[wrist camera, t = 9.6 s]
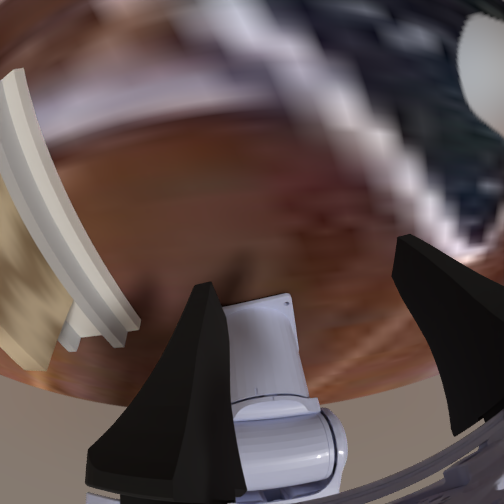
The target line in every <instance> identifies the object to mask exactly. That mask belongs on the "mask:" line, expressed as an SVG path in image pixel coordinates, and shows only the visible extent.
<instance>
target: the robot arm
mask: <svg viewBox="0 0 504 504" xmlns="http://www.w3.org/2000/svg"><path fill="white" fill-rule="evenodd" d="M392 278H393V280H394V283H395V285H396V287H397V289H398V291H399V293H400V296H401V298H402V299H403V301H404V303H405V304H406V306H407V308H408V309H409V311H410V313H411V314H412V316H413V318H414V319H415V321H416V323H417V324H418V326H419V328H420V330H421V331H422V333H423V335H424V337H425V338H426V340H427V342H428V344H429V346H430V349H431V351H432V354H433V356H434V359H435V362H436V364H437V367H438V370H439V373H440V377H441V380H442V383H443V387H444V391H445V395H446V399H447V404H448V410H449V416H450V423H451V430H452V433H453V435H454V436H457V435H458V434H460V433H461V432H463V431H465V430H466V429H467V428H469V427H471V426H472V425H474V424H475V423H476V422H478V421H480V420H481V419H482V418H484V421H485V423H484V424H483V425H482V426H480V427H479V428H477V429H476V430H475V431H473V432H471V433H470V434H468V435H467V436H465V437H464V438H462V439H461V440H459V441H457V442H456V443H454V444H453V445H451V446H449V447H447V448H446V449H444V450H442V451H440V452H439V453H437V454H435V455H433V456H431V457H429V458H427V459H425V460H424V461H422V462H419V463H417V464H415V465H413V466H411V467H409V468H407V469H404V470H402V471H400V472H398V473H395V474H393V475H390V476H388V477H385V478H383V479H380V480H378V481H375V482H372V483H369V484H367V485H363V486H361V487H357V488H354V489H351V490H348V491H344V492H341V493H339V487H340V482H341V476H342V471H343V468H344V466H345V464H346V460H347V454H348V452H347V451H348V449H347V439H346V434H345V431H344V428H343V426H342V424H341V422H340V420H339V418H338V417H337V416H336V415H335V414H333V412H332V411H330V410H329V409H328V408H320V405H319V401H318V398H310V397H309V392H308V388H307V384H306V380H305V376H304V372H303V368H302V364H301V361H300V357H299V353H298V351H299V347H298V340H297V333H296V326H295V319H294V312H293V305H292V299H291V296H290V294H288V293H284V294H280V295H276V296H271V297H267V298H262V299H258V300H253V301H249V302H244V303H239V304H235V305H230V306H225V307H222V306H221V304H220V301H219V299H218V297H217V294H216V292H215V289H214V287H213V285H212V282H206V283H202V284H197V285H195V286H194V288H193V290H192V292H191V295H190V297H189V299H188V302H187V304H186V306H185V309H184V311H183V313H182V316H181V318H180V320H179V322H178V324H177V326H176V329H175V331H174V333H173V335H172V337H171V339H170V341H169V343H168V345H167V347H166V349H165V350H164V352H163V354H162V356H161V358H160V360H159V361H158V363H157V365H156V367H155V368H154V370H153V372H152V373H151V375H150V376H149V378H148V380H147V381H146V383H145V384H144V385H143V387H142V388H141V390H140V391H139V393H138V394H137V396H136V397H135V398H134V400H133V401H132V402H131V404H130V405H129V406H128V407H127V408H126V410H125V411H124V412H123V413H122V414H121V416H120V417H119V418H118V419H117V420H116V422H115V423H114V424H113V425H112V426H111V427H110V428H109V429H108V430H107V431H106V432H105V433H104V434H103V436H101V437H100V438H99V439H98V440H97V441H96V442H95V443H94V444H93V445H92V446H91V447H90V448H89V449H88V454H87V464H86V477H85V484H86V485H87V486H89V487H93V488H96V489H100V490H104V491H108V492H112V493H117V494H120V499H114V498H110V497H106V496H102V495H98V494H94V493H90V492H87V493H86V504H365V503H367V502H370V501H373V500H376V499H379V498H381V497H384V496H387V495H389V494H392V493H394V492H396V491H399V490H401V489H403V488H405V487H408V486H410V485H412V484H414V483H416V482H418V481H420V480H422V479H424V478H426V477H428V476H430V475H432V474H434V473H436V472H438V471H439V470H441V469H443V468H445V467H446V466H448V465H450V464H452V463H453V462H455V461H456V460H458V459H460V458H461V457H463V456H464V455H466V454H467V453H469V452H470V451H472V450H473V449H475V448H476V447H478V446H479V449H478V451H476V452H474V453H472V454H470V455H469V456H467V457H465V458H463V459H462V460H460V461H458V462H456V463H455V464H453V465H452V466H451V467H449V468H448V469H447V470H445V471H444V473H443V474H444V478H443V479H441V480H439V481H437V482H435V483H433V484H431V485H429V486H427V487H425V488H422V489H420V490H418V491H416V492H414V493H412V494H409V495H406V496H404V497H402V498H399V499H396V500H394V501H392V502H389V503H386V504H504V286H502V285H500V284H498V283H496V282H494V281H492V280H490V279H488V278H486V277H484V276H482V275H480V274H479V273H477V272H475V271H473V270H472V269H470V268H468V267H466V266H465V265H463V264H461V263H459V262H458V261H456V260H454V259H453V258H451V257H450V256H448V255H446V254H445V253H443V252H441V251H440V250H438V249H436V248H435V247H433V246H431V245H430V244H428V243H426V242H424V241H423V240H421V239H419V238H417V237H415V236H413V235H411V234H407V235H403V236H400V237H397V245H396V252H395V258H394V265H393V271H392ZM285 302H287V303H285Z"/></svg>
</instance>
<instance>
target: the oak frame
mask: <svg viewBox="0 0 504 504" xmlns="http://www.w3.org/2000/svg"><path fill="white" fill-rule="evenodd" d="M72 303H73V298H72V297H71V296H70V294H69V293H68V292H67V290H66V289H65V288H64V286H63V285H62V283H61V282H60V281H59V279H58V278H57V276H56V275H55V273H54V272H53V270H52V269H51V267H50V266H49V264H48V263H47V261H46V260H45V258H44V256H43V255H42V253H41V252H40V250H39V248H38V247H37V245H36V243H35V242H34V240H33V238H32V236H31V235H30V233H29V231H28V229H27V228H26V226H25V224H24V222H23V220H22V218H21V216H20V214H19V213H18V211H17V209H16V207H15V205H14V202H13V200H12V198H11V196H10V194H9V192H8V190H7V187H6V185H5V183H4V181H3V178H2V176H1V173H0V347H1V348H2V349H3V350H4V351H5V352H6V353H7V354H8V355H9V356H10V357H11V358H12V359H13V360H14V361H15V362H16V363H17V364H18V365H20V366H21V367H22V368H23V369H24V370H31V371H47V368H48V365H49V362H50V359H51V356H52V353H53V350H54V348H55V345H56V342H57V339H58V337H59V334H60V332H61V329H62V326H63V324H64V321H65V319H66V317H67V314H68V312H69V309H70V307H71V305H72Z"/></svg>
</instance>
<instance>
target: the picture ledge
mask: <svg viewBox="0 0 504 504" xmlns="http://www.w3.org/2000/svg"><path fill="white" fill-rule="evenodd" d="M0 173H1V176H2V178H3V181H4V183H5V185H6V187H7V190H8V192H9V194H10V196H11V198H12V200H13V202H14V205H15V207H16V209H17V211H18V213H19V214H20V216H21V218H22V220H23V222H24V224H25V226H26V228H27V229H28V231H29V233H30V235H31V236H32V238H33V240H34V242H35V243H36V245H37V247H38V248H39V250H40V252H41V253H42V255H43V256H44V258H45V260H46V261H47V263H48V264H49V266H50V267H51V269H52V270H53V272H54V273H55V275H56V276H57V278H58V279H59V281H60V282H61V283H62V285H63V286H64V288H65V289H66V290H67V292H68V293H69V294H70V296H71V297H72V298H73V303H72V305H71V307H70V309H69V312H68V314H67V317H66V319H65V321H64V324H63V326H62V329H61V332H60V334H59V337H58V339H57V340H58V341H59V342H60V343H61V344H62V345H63V346H64V347H65V348H66V349H67V350H68V351H69V352H73V351H77V348H78V345H79V342H80V339H81V337H89V336H98V335H103V336H104V338H105V339H106V340H107V341H108V342H109V343H110V344H111V345H112V346H113V348H120V347H124V346H125V342H126V337H127V333H128V331H135V330H139V329H140V324H141V319H140V318H139V316H138V315H137V313H136V312H135V311H134V309H133V308H132V306H131V305H130V303H129V302H128V300H127V299H126V297H125V296H124V294H123V293H122V291H121V290H120V288H119V287H118V285H117V284H116V282H115V281H114V279H113V277H112V276H111V274H110V273H109V271H108V269H107V268H106V266H105V264H104V263H103V261H102V259H101V258H100V256H99V254H98V253H97V251H96V249H95V247H94V246H93V244H92V242H91V240H90V239H89V237H88V235H87V233H86V231H85V229H84V227H83V226H82V224H81V222H80V220H79V218H78V216H77V214H76V212H75V210H74V208H73V206H72V204H71V202H70V200H69V198H68V195H67V193H66V191H65V189H64V187H63V185H62V182H61V180H60V178H59V176H58V173H57V171H56V168H55V166H54V164H53V161H52V159H51V156H50V154H49V151H48V148H47V146H46V143H45V140H44V138H43V135H42V132H41V129H40V126H39V123H38V120H37V117H36V114H35V110H34V107H33V104H32V100H31V97H30V93H29V89H28V85H27V81H26V77H25V72H24V68H21V69H14V70H12V71H11V72H10V73H9V74H8V75H7V76H6V77H4V78H3V79H2V80H0Z"/></svg>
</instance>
